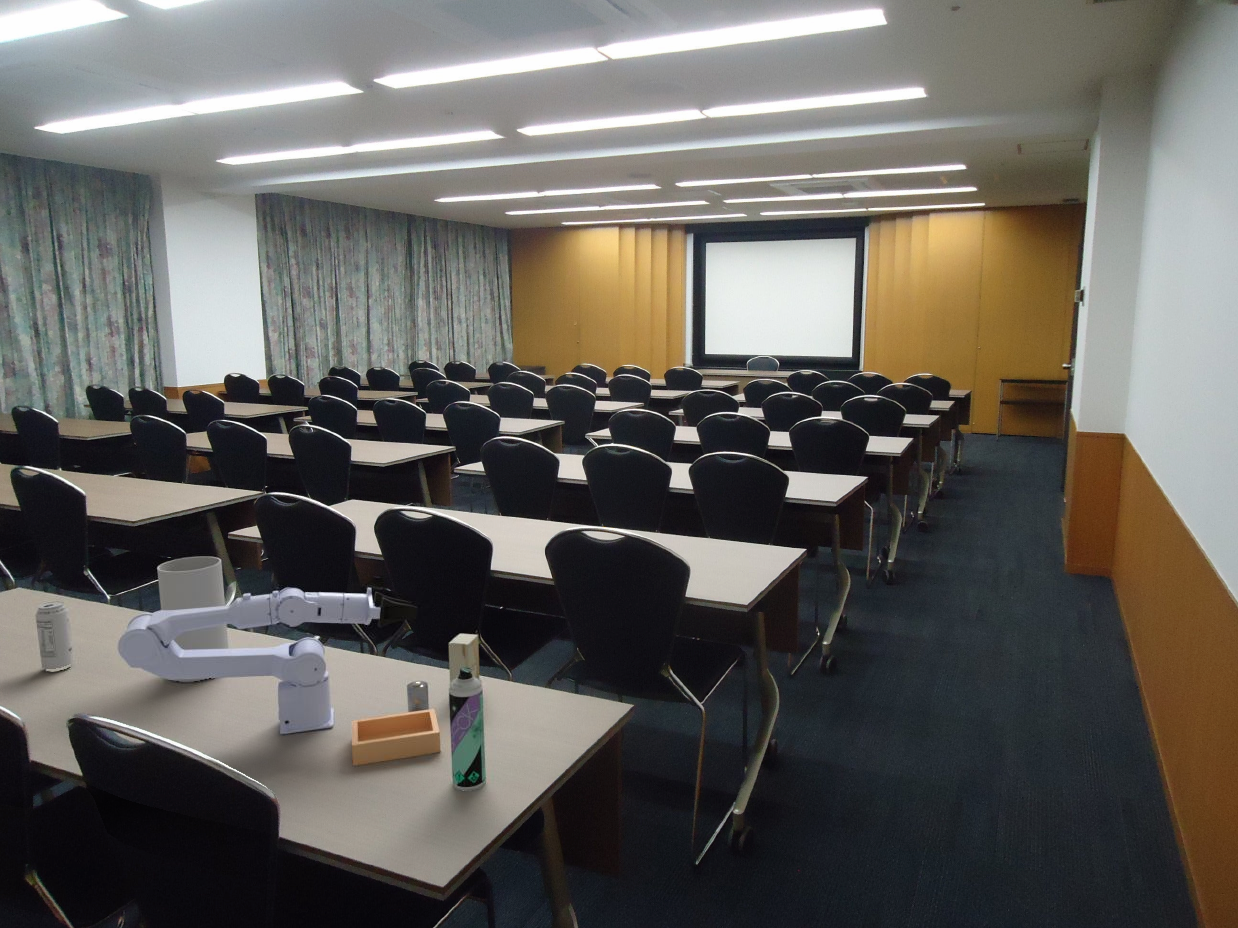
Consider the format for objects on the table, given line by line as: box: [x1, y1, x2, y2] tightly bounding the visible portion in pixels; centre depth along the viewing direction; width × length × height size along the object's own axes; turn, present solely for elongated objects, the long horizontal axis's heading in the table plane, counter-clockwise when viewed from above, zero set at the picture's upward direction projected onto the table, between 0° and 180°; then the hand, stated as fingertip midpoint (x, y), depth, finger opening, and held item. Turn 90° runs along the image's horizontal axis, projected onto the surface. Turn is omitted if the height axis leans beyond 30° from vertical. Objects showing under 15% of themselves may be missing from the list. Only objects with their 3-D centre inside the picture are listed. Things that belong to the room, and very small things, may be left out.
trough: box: [351, 708, 442, 767], centre depth 152 cm, size 15×10×4 cm, turn 108°
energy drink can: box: [35, 601, 75, 670], centre depth 188 cm, size 6×6×15 cm
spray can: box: [448, 667, 487, 792], centre depth 138 cm, size 6×6×20 cm
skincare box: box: [448, 633, 480, 683], centre depth 172 cm, size 6×4×12 cm
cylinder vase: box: [156, 556, 230, 683], centre depth 184 cm, size 12×12×25 cm
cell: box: [406, 680, 430, 712], centre depth 164 cm, size 4×4×7 cm
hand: (413, 609), depth 166 cm, fingers open, 7 cm apart
